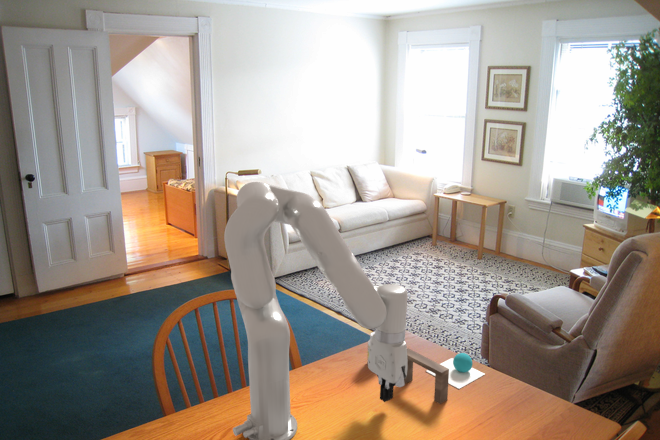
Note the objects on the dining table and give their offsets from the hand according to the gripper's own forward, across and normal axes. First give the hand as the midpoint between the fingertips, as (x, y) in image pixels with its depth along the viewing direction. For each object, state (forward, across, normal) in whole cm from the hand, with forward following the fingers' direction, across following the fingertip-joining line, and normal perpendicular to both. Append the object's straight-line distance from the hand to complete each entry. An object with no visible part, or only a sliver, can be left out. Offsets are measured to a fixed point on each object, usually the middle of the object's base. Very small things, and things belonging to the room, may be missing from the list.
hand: (386, 398), depth 136 cm
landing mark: (+2, 0, +28) cm, 28 cm away
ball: (-1, +1, +30) cm, 30 cm away
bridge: (+2, 0, +14) cm, 14 cm away
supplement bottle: (+3, -18, +14) cm, 23 cm away
